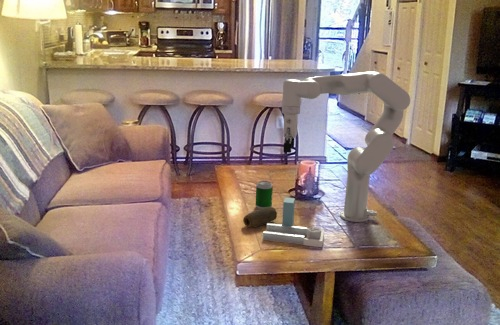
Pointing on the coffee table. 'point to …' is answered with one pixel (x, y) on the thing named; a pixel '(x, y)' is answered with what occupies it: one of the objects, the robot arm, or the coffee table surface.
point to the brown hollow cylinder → (260, 217)
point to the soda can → (264, 194)
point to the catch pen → (314, 240)
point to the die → (314, 233)
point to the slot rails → (277, 233)
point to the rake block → (288, 211)
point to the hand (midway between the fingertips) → (288, 149)
